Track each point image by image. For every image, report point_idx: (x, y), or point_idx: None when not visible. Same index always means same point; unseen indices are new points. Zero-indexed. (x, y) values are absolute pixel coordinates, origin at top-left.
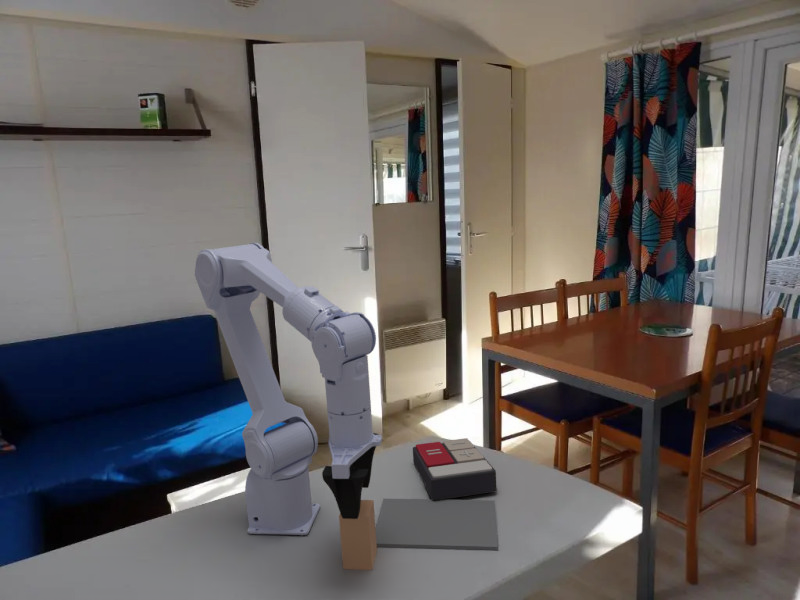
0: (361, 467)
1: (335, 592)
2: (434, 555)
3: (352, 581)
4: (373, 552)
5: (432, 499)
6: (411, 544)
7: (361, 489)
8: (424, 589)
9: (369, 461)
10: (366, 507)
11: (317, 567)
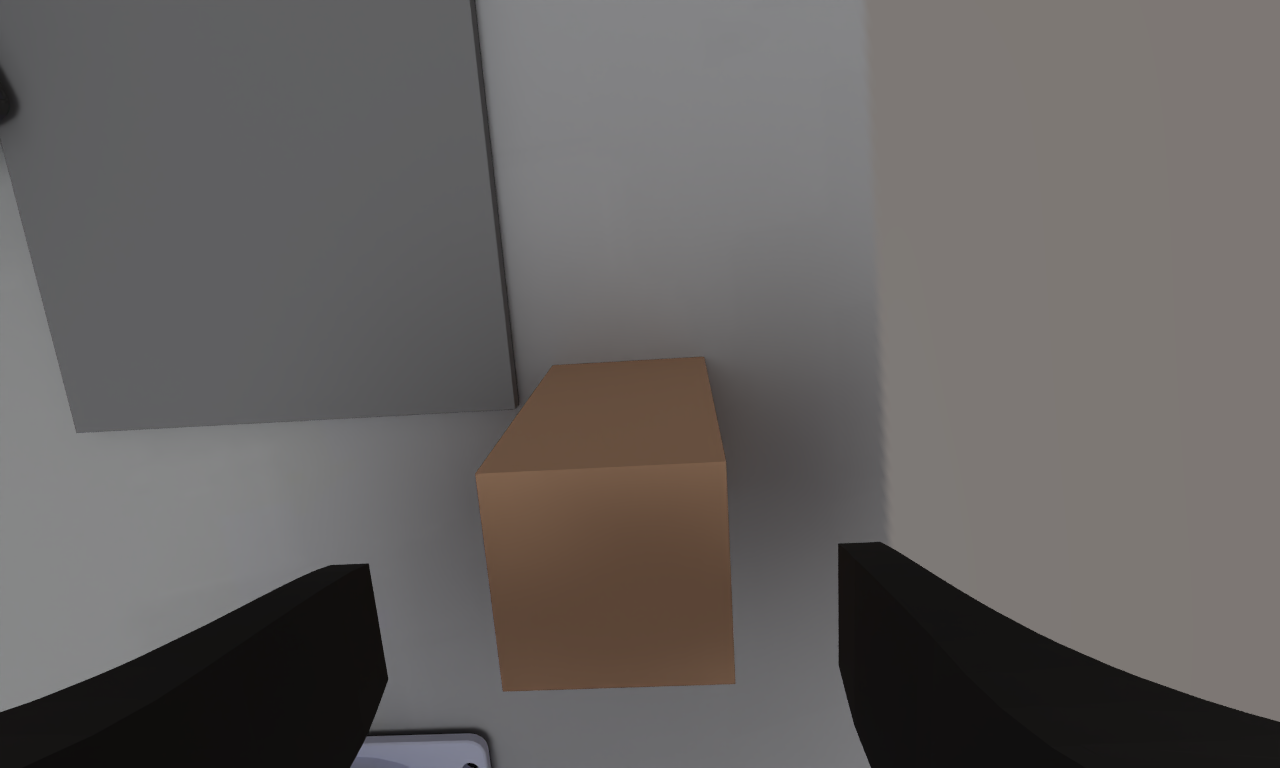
0: (257, 751)
1: (880, 492)
2: (541, 28)
3: (797, 433)
4: (640, 373)
5: (5, 113)
6: (487, 177)
7: (1019, 669)
8: (834, 43)
9: (180, 714)
10: (594, 506)
11: None
